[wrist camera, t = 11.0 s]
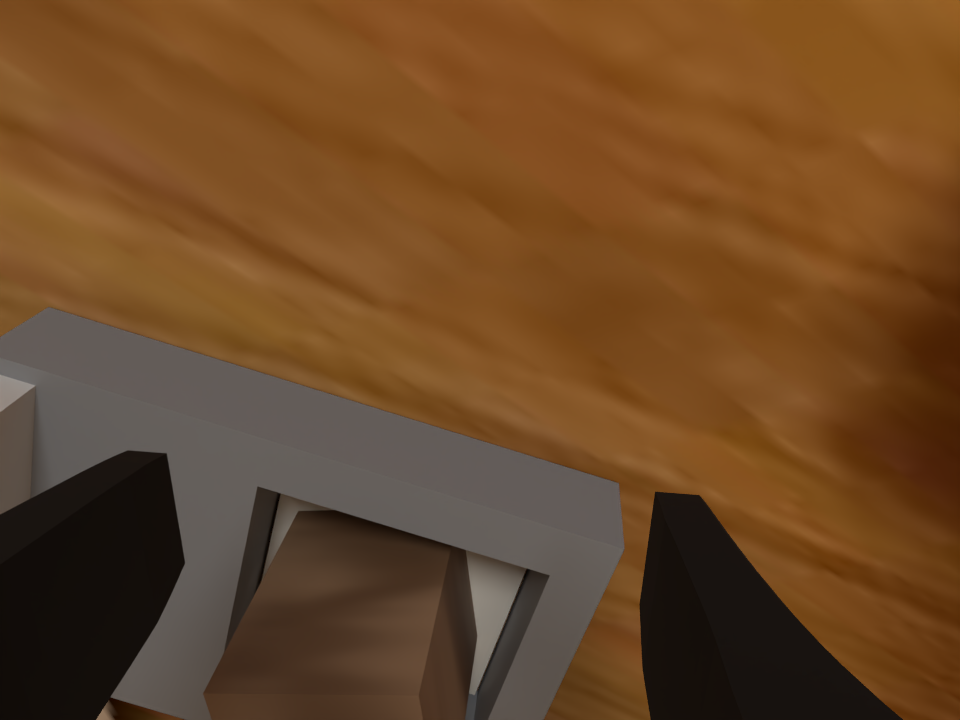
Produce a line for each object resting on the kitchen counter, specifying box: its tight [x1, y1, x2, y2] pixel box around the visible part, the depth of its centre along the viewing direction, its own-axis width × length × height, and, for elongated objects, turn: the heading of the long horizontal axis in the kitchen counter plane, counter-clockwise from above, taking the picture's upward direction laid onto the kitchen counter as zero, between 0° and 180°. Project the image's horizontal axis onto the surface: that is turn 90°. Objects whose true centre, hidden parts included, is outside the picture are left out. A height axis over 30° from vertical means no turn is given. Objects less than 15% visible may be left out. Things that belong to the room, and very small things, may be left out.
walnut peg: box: [203, 510, 477, 720], centre depth 22 cm, size 5×5×7 cm
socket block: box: [0, 307, 624, 720], centre depth 21 cm, size 18×11×10 cm, turn 74°
